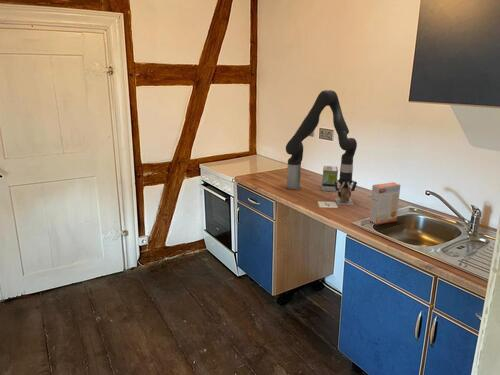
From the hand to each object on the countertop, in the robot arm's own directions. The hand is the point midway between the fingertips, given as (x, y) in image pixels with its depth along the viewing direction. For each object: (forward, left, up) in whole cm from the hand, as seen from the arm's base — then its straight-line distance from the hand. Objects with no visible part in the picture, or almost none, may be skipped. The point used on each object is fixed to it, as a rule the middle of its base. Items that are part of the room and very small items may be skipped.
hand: (344, 197), depth 236 cm
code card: (-11, -7, -3) cm, 13 cm away
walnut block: (0, 0, -1) cm, 1 cm away
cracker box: (+15, -33, -3) cm, 36 cm away
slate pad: (0, 0, -3) cm, 3 cm away
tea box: (-5, +29, -3) cm, 30 cm away
